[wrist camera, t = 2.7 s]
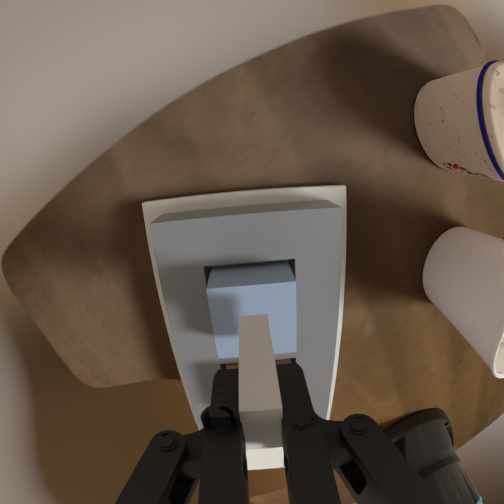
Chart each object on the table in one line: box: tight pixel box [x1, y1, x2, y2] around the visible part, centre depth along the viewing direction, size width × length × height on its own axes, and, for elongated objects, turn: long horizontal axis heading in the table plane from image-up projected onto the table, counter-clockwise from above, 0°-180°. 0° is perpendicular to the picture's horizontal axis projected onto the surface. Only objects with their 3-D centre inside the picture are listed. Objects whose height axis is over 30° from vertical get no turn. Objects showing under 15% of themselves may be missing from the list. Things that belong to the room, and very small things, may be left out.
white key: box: [246, 447, 285, 470], centre depth 23 cm, size 5×5×3 cm
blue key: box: [206, 263, 297, 358], centre depth 18 cm, size 5×5×3 cm
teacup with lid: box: [414, 61, 504, 182], centre depth 13 cm, size 12×9×12 cm
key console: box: [142, 185, 347, 430], centre depth 23 cm, size 30×15×4 cm, turn 4°
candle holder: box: [422, 227, 504, 378], centre depth 18 cm, size 10×10×12 cm
